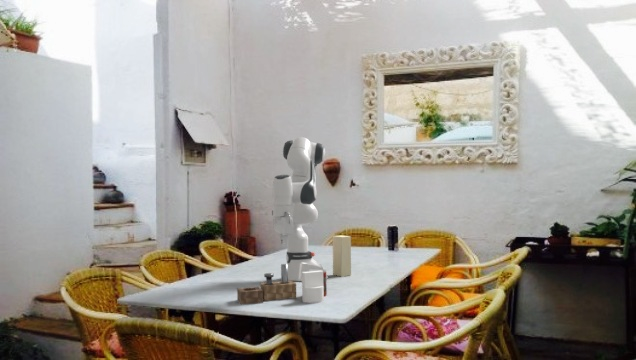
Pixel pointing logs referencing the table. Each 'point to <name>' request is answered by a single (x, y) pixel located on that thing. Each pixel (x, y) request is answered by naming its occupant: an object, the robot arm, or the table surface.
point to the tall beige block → (341, 255)
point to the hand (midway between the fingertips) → (283, 243)
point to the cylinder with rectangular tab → (312, 286)
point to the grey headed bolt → (269, 278)
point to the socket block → (278, 290)
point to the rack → (249, 295)
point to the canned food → (323, 279)
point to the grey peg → (284, 273)
